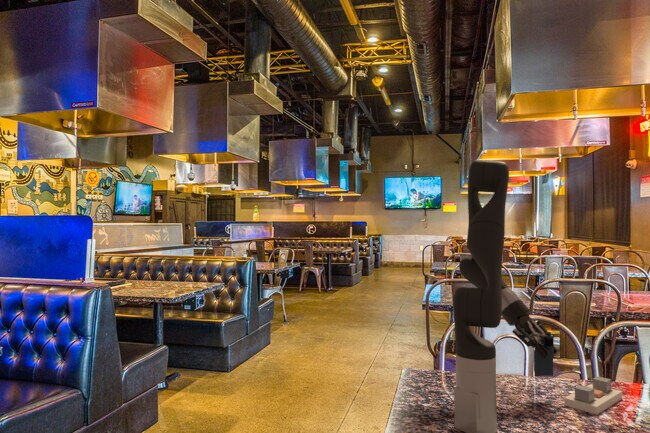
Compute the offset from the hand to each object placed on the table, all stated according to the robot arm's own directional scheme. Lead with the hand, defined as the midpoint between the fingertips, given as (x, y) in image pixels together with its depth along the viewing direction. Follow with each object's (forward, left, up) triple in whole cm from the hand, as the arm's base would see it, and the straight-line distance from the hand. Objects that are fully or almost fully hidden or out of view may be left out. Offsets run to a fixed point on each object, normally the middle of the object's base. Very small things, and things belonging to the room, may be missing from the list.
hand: (551, 355), depth 124 cm
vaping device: (0, +2, -6) cm, 6 cm away
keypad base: (+7, -8, -12) cm, 16 cm away
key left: (+1, -8, -10) cm, 13 cm away
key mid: (+7, -8, -12) cm, 16 cm away
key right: (+13, -8, -10) cm, 18 cm away
